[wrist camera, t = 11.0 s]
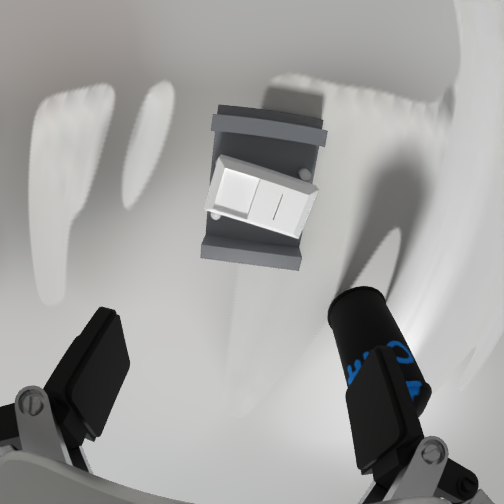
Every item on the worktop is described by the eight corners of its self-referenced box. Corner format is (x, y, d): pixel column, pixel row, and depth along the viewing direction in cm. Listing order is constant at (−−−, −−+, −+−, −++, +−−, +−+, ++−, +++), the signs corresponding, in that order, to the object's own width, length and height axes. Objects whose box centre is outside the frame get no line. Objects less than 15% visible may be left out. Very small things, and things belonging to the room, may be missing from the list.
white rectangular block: (296, 231, 28) (299, 242, 25) (207, 203, 27) (201, 212, 24) (315, 185, 25) (320, 192, 23) (221, 154, 24) (217, 158, 22)
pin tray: (219, 105, 25) (214, 103, 22) (321, 119, 25) (329, 120, 22) (206, 251, 32) (200, 266, 29) (293, 262, 32) (296, 279, 29)
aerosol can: (388, 320, 36) (441, 439, 18) (335, 341, 38) (365, 470, 20) (379, 275, 33) (451, 407, 15) (319, 300, 34) (354, 447, 17)
